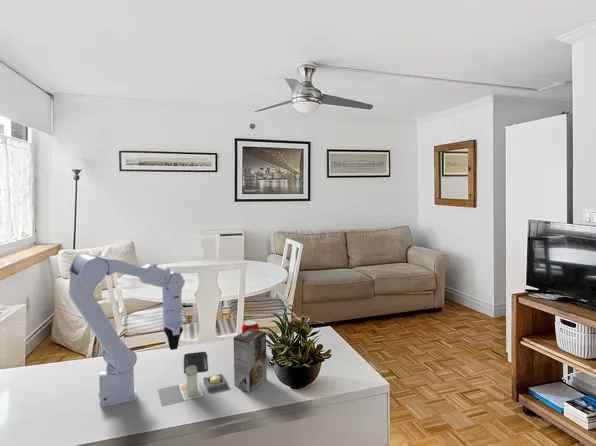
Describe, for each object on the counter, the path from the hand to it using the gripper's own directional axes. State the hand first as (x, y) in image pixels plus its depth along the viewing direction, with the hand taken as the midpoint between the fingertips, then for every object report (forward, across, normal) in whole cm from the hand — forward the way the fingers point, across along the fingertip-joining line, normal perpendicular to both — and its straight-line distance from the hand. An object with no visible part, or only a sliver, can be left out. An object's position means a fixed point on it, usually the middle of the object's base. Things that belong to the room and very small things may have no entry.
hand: (173, 348), depth 126 cm
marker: (+9, -14, -3) cm, 17 cm away
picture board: (+9, -12, 0) cm, 15 cm away
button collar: (+9, -12, -10) cm, 19 cm away
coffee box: (+10, -15, -21) cm, 28 cm away
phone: (+10, +6, -8) cm, 14 cm away
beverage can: (+10, +5, -28) cm, 30 cm away
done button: (+9, -12, -11) cm, 18 cm away
